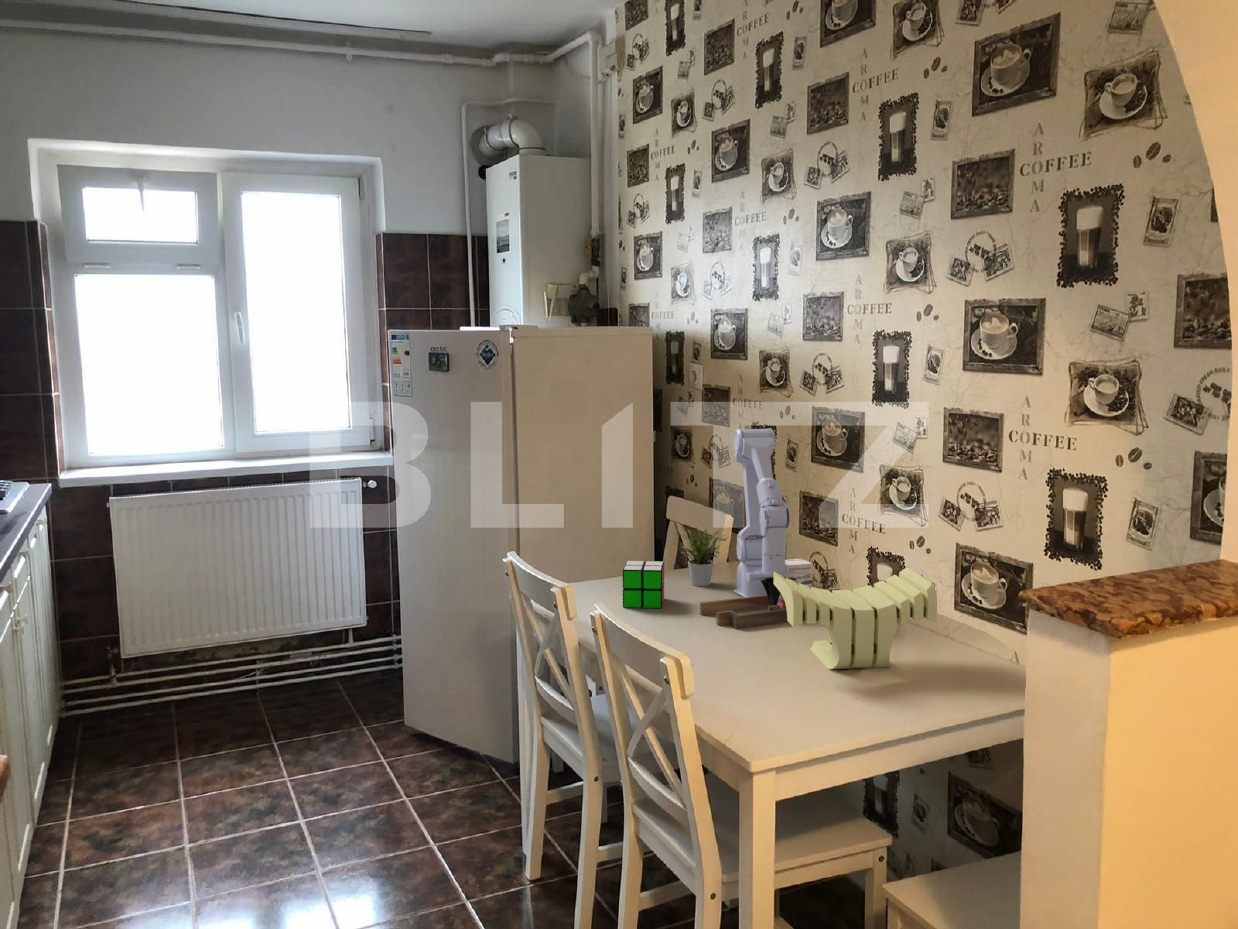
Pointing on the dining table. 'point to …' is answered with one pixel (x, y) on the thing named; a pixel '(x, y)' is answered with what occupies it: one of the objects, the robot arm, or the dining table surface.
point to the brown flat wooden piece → (728, 615)
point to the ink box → (797, 575)
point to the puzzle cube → (643, 584)
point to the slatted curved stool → (859, 616)
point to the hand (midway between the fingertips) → (772, 607)
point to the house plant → (701, 558)
